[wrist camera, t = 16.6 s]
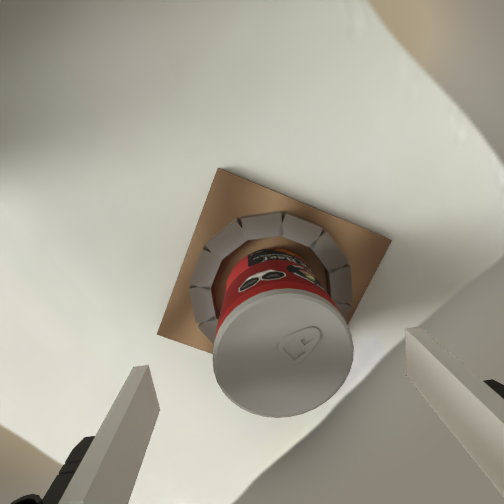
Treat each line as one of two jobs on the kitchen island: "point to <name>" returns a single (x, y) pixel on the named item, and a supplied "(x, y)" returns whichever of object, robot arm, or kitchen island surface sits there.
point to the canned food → (279, 337)
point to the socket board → (261, 237)
